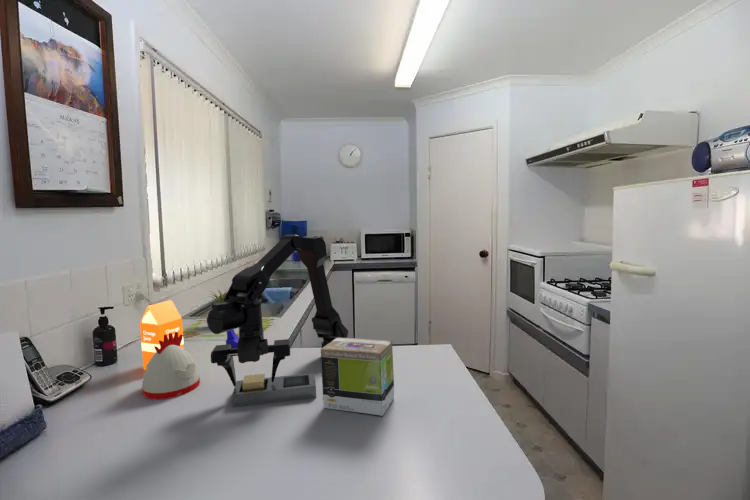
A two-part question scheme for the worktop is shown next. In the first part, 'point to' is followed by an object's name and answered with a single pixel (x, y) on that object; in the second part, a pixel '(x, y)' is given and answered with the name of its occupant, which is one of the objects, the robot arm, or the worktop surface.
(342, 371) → the tea box
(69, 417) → the worktop surface
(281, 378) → the grey flat block
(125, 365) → the worktop surface
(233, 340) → the cable clip
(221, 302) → the house plant
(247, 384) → the brass cuboid
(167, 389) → the kitchen timer
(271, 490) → the worktop surface
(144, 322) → the orange juice
